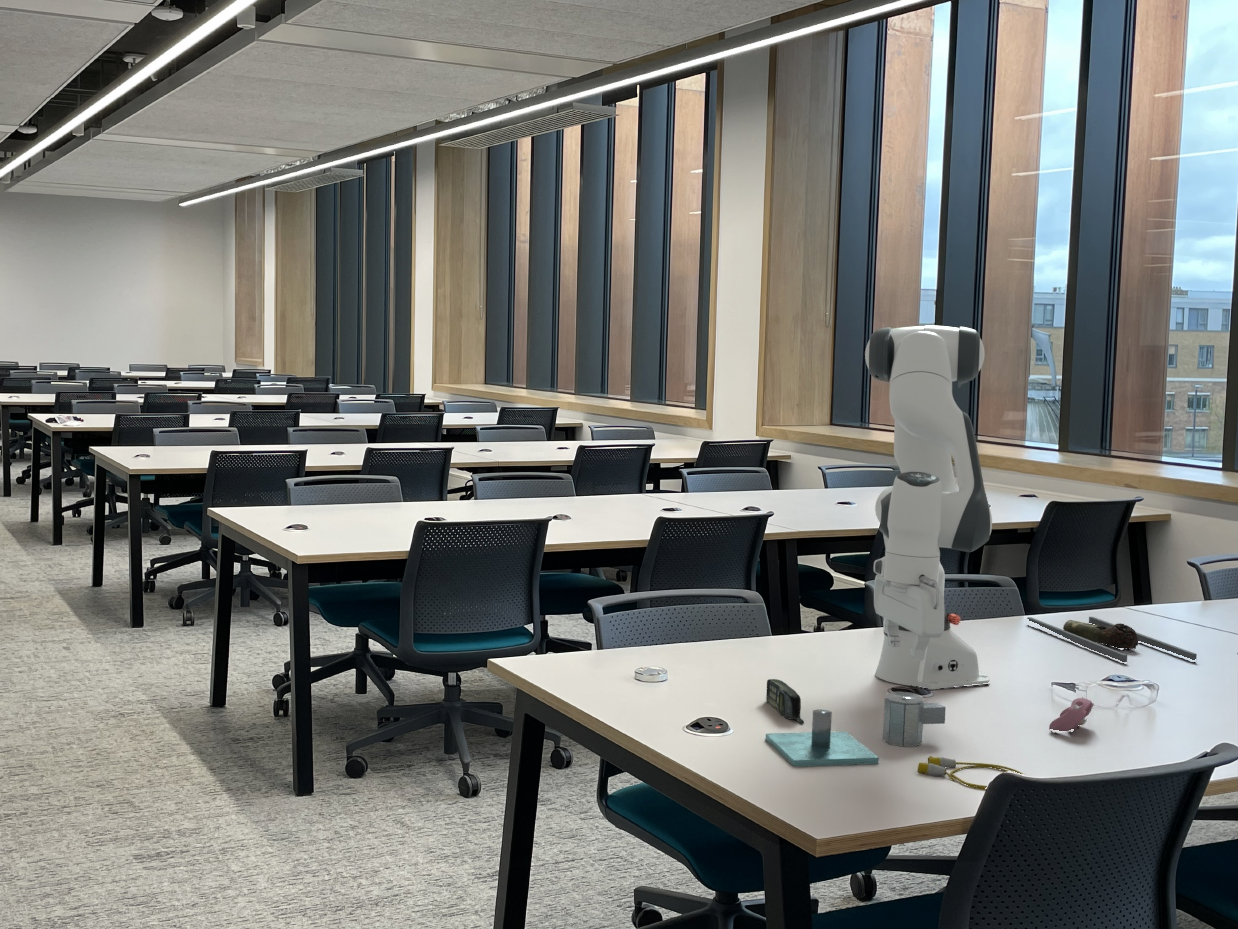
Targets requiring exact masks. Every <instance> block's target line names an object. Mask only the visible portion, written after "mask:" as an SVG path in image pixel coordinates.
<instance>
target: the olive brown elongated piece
mask: <svg viewBox="0 0 1238 929" xmlns="http://www.w3.org/2000/svg"><path fill="white" fill-rule="evenodd" d="M1062 630H1065V631H1067V632H1070V633H1072V634H1075V635H1077V636H1080V637H1083V638H1085V639H1088V640H1090V641H1093V642H1095V643H1096V642H1097V643H1098V644H1102V643H1103V644H1102V645H1105V644H1107V645H1106V646H1108V645H1111V646H1114V647H1117V648H1130V649H1129V650H1133V649H1134V650H1135V649H1136V648H1137V647H1138V646H1139V643H1138V638H1137V634H1136V632H1137V631H1136V630H1135V629H1133V628H1132V627H1131V626H1129V625H1127V624H1125V623H1120V622H1119V623H1115V625H1114V626H1112V625H1111V626H1110V627H1108V628H1106V627H1102V626H1098V625H1093V624H1089V622H1088V623H1087V622H1082V621H1078V620H1073V619H1068V620H1067V621H1066V622H1065V623H1064V624H1063V628H1062ZM1111 646H1110V647H1111ZM1117 648H1116V649H1117Z"/></svg>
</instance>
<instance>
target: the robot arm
mask: <svg viewBox="0 0 1238 929" xmlns="http://www.w3.org/2000/svg"><path fill="white" fill-rule="evenodd" d="M864 356H865V357H864V359H865V363H866V366H867V370H868V371H869V375H871V377H872V378H873V379H875V380H877V381H880V382H884V383H889V392H888V394H889V395H888V396H889V400H888V401H889V410H890V414H891V416H892V418H893V420H894V429H893V430H894V434H893V457H894V460H895V461H896V463H897V465H898V468H899V471H900V473H898V474H897V475H896V476H895V478H894V481H893V485H890V486H888V487H886V488H884V489H883V490H882V491H881V492H880V493H879V495H878V496H877V498H876V501H875V506H874V507H875V508H874V510H875V511H874V512H875V516H876V519H877V520H878V523H879V524H880V526H879V528H878V530H879V531H880V532H881V534H882V535H883V541H884V548H885V550H884V552H885V553H884V556H883V557H881V558H878V559H875V560H874V562H873V573H874V574H876V575H875V578H874V584H873V586H874V587H873V588H874V589H873V607H874V612H875V614H876V615H879V616H881V617H882V618H883V622H882V623H883V625H882V626H883V628H882V629H883V635H884V636H883V643H882V648H881V654H880V658H879V661H878V665H877V668H876V670H875V672H874V675H875V676H876V677H877V678H878V679H881V680H883V681H886V682H889V683H894V684H898V685H904V686H911V685H912V686H911V687H916V686H921V687H925V688H928V689H927V690H941V689H940V688H944V689H948V688H947V687H954V686H964V685H972V684H983V683H988V682H989V681H990V677H989V676H988V675H987V674H986V673H985V672H983V671H981V670H980V668H979V667H980V666H979V660H978V655H977V652H976V651H975V649H974V648H973V647H972V646H971V645H970V644H969V643H967V642H966V641H965V640H964V639H963V638H962V637H960V636H959V634H957V633H956V632H955V631H954V630H952V629H951V625H954V626H959V623H960V624H961V621H962V619H961V617H960V615H959V614H958V615H957V614H955V613H949V612H947V611H946V610H945V598H944V596H945V580H946V574H945V573H946V572H945V569H944V567H943V565H942V564H941V561H940V557H941V550H940V548H945V549H946V548H947V549H951V550H954V551H955V550H956V551H961V552H966V553H972V552H974V551H976V550H978V549H979V548H981V547H982V546H983V545H985V544H986V543H987V542H988V541H989V540H990V536H991V533H992V528H993V515H992V512H991V508H990V505H989V500H988V496H987V493H986V489H985V485H984V480H983V479H984V477H983V474H982V473H983V472H982V468H981V462H980V456H979V455H980V454H979V452H978V451H979V450H978V445H977V441H976V436H975V431H974V427H973V423H972V420H971V417H970V416H969V414H968V413H966V412H965V411H963V410H961V409H960V407H959V406H958V404H957V402H956V401H955V399H954V396H953V382H954V383H957V389H959V388H962V385H963V384H966V383H968V382H971V381H974V379H975V378H977V376H978V375H979V372H980V370H981V369H982V367H983V364H984V361H985V356H986V354H985V347H984V344H983V341H982V339H981V336H980V333H979V332H978V331H977V330H976V329H973V328H971V327H970V328H969V327H967V326H966V327H965V326H959V327H955V326H954V327H953V326H945V325H930V324H929V325H927V324H925V325H924V326H919V325H918V326H917V325H916V326H902V327H896V328H895V327H894V328H893V327H890V326H888V327H882V328H879V329H875V331H873V333H872V334H870V338H869V340H868V342H867V344H866V348H865V351H864ZM952 460H953V462H954V463H953V462H952ZM953 464H954V468H955V474H956V478H955V474H954V468H953ZM956 481H957V484H956ZM957 486H958V488H957ZM990 682H991V681H990Z"/></svg>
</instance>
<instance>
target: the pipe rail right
mask: <svg viewBox="0 0 1238 929" xmlns="http://www.w3.org/2000/svg"><path fill="white" fill-rule="evenodd" d="M1089 623H1092V624H1095V625H1098V626H1102V627H1106V628H1108V627H1110V626H1111V625H1112V626H1114V625H1115V624H1116V623H1115V624H1114V623H1112V622H1109V621H1106V620H1103V619H1101V618H1097V617H1095V616H1088V624H1089ZM1135 632H1136V634H1137V638H1138V641H1141V642H1144V643H1147V644H1150V645H1152V646H1156V647H1159V648H1162V649H1165V650H1167V651H1171V652H1173V653H1176V654H1178V655H1182V656H1184V657H1187V658H1190V659H1192V660H1195V659H1196V660H1197V658H1198V657H1197V655H1198V654H1197V653H1195V652H1192V651H1190V650H1186V649H1183V648H1181V647H1179V646H1175V645H1173V644H1170V643H1167V642H1164V641H1162V640H1160V639H1156V638H1153V637H1151V636H1148V635H1145V634H1142V633H1139V632H1137V631H1135Z"/></svg>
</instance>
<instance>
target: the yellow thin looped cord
mask: <svg viewBox="0 0 1238 929" xmlns="http://www.w3.org/2000/svg"><path fill="white" fill-rule="evenodd" d="M957 765H962V767H958V768H956V766H957ZM963 765H965V766H963ZM945 767H951V768H955V769H953V770H951V771H950V772H947V768H945ZM967 767H974V768H984V767H992V768H991V769H993V768H996V769H995V770H998V771H1002V772H1005V771H1011V772H1014V771H1015V772H1014V773H1016V772H1017V773H1016V774H1018V773H1020V774H1024V773H1022V772H1021V771H1019V770H1016V769H1014V768H1011V767H1008V766H1003V765H999V764H993V763H982V762H962V761H961V762H960V761H956V759H952V758H948V757H942V756H941V757H940V756H939V757H934V756H932V755H929V756H928V757H927V763H925V762H924V763H923V762H919V763H918V765H917V773H918V774H925V773H926V774H929V775H928V776H934V775H939V776H938V777H940V776H941V777H942V776H943V777H946V776H947V777H948V778H949V779H950V780H951V779H952V780H954V781H957V782H960V784H961V783H963V784H966V785H968V786H970V787H969V788H971V787H973V788H972V789H976V788H978V789H977V790H983V791H984V790H985V788H986V787H987V786H988V785H982V784H975V783H969V782H966V781H965V780H962V779H960V778H959V777H958V776H956V775H955V774H954V773H956V772H958V770H959V771H960V769H961V770H964V769H963V768H966V769H968V768H967ZM999 769H1001V770H999ZM955 771H956V772H955ZM1020 774H1019V775H1020ZM952 780H951V781H952ZM954 781H953V782H954ZM963 784H962V785H963ZM968 786H967V787H968ZM985 791H986V790H985Z"/></svg>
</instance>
